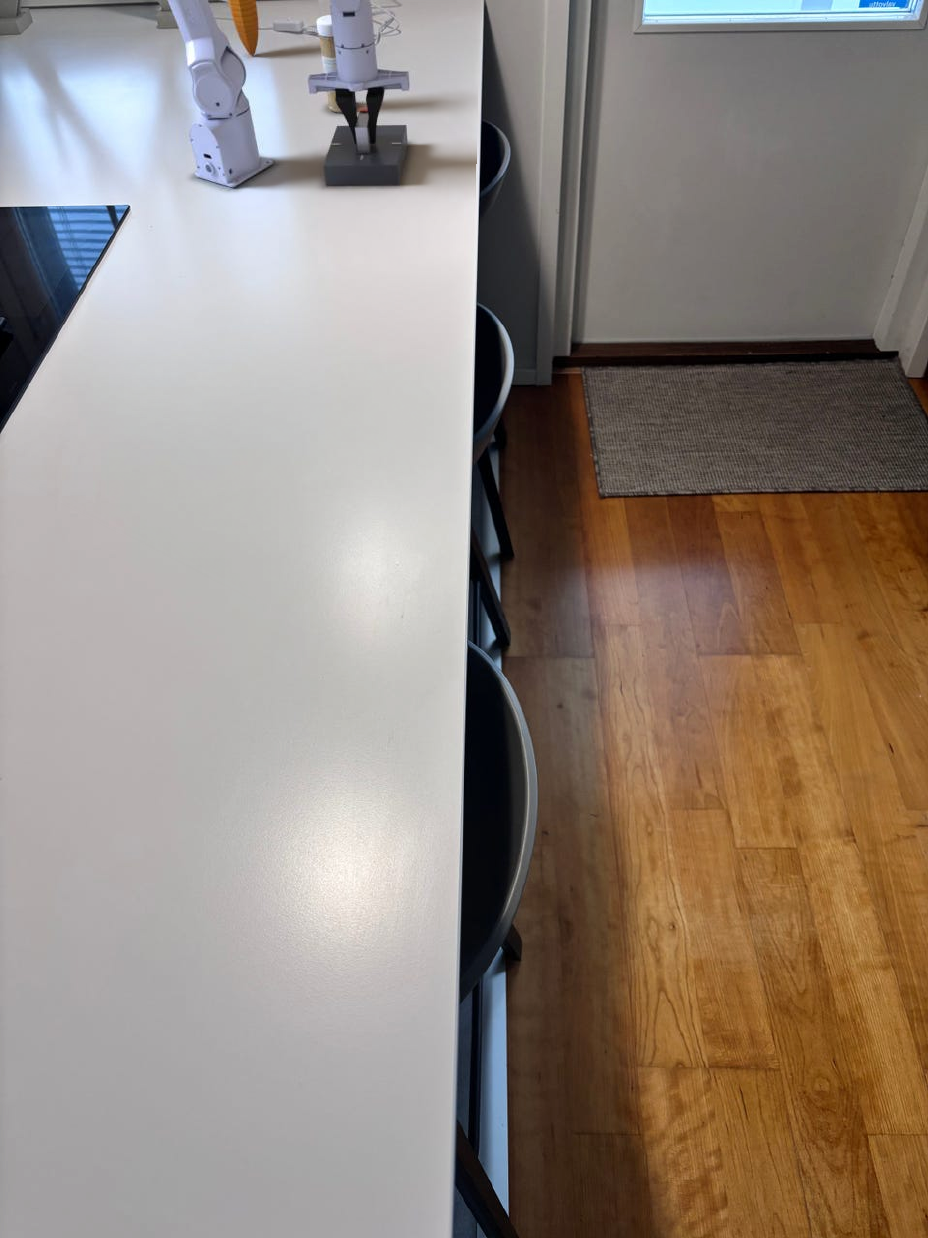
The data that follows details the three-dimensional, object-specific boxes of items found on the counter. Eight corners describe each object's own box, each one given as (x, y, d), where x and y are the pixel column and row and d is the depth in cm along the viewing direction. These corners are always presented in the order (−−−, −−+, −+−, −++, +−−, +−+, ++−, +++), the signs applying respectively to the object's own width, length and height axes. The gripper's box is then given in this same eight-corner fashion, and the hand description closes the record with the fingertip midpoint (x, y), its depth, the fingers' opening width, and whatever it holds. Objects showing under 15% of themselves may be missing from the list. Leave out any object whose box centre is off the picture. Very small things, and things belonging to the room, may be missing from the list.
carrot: (263, 60, 177) (246, -35, 165) (237, 61, 177) (218, -34, 165) (267, 50, 180) (251, -44, 168) (241, 51, 180) (223, -43, 169)
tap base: (398, 185, 142) (396, 163, 139) (326, 185, 143) (322, 164, 140) (407, 144, 151) (406, 123, 148) (339, 144, 152) (336, 124, 149)
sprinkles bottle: (360, 107, 161) (350, 17, 151) (339, 115, 159) (328, 25, 149) (343, 100, 163) (332, 11, 153) (322, 108, 161) (310, 18, 151)
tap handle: (369, 153, 142) (366, 125, 139) (358, 153, 142) (354, 125, 139) (373, 134, 146) (370, 107, 143) (361, 135, 147) (358, 107, 143)
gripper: (299, 53, 131) (314, 153, 142) (404, 50, 131) (411, 151, 141) (305, 35, 136) (320, 133, 146) (406, 31, 135) (414, 130, 146)
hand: (365, 140), depth 144 cm, fingers closed on tap handle, 2 cm apart
